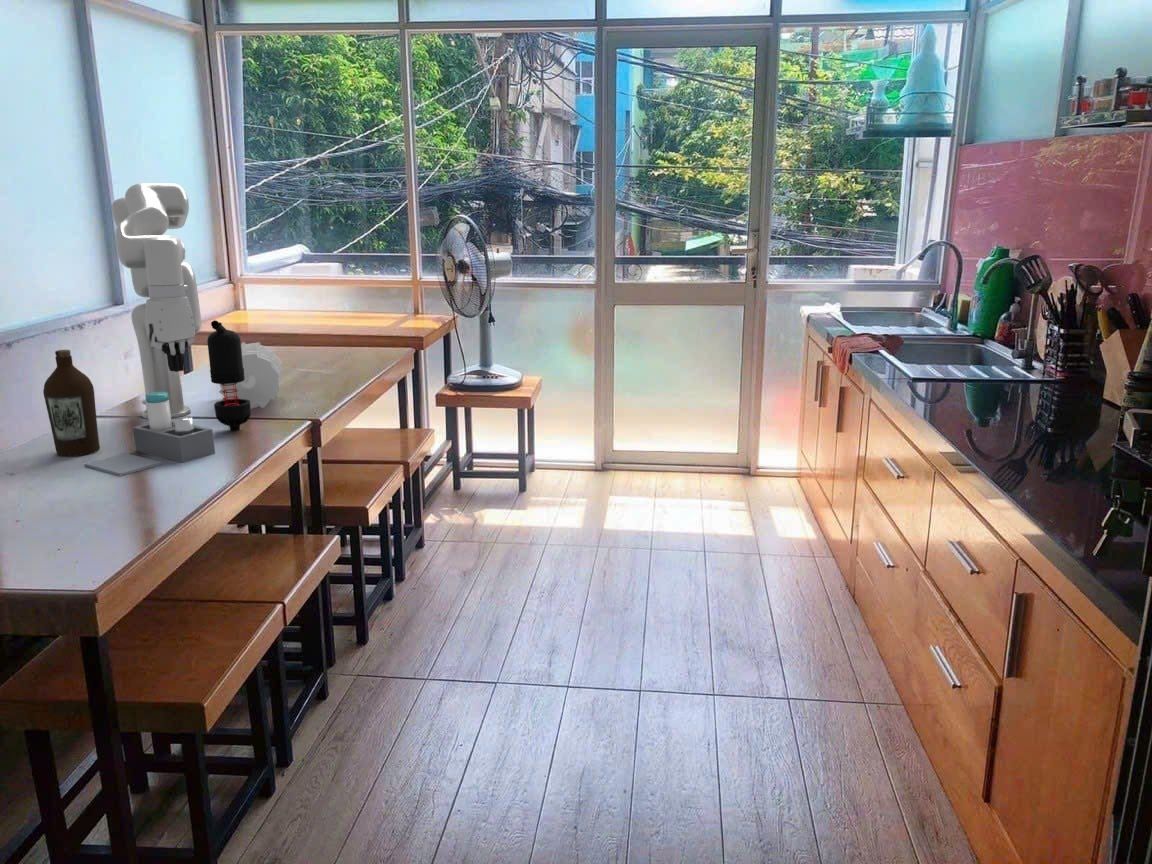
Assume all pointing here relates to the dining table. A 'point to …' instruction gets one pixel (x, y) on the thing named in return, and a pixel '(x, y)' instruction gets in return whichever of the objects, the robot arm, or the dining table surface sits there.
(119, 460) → the mat
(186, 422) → the silver metallic cylinder
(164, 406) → the cylinder
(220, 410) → the filter
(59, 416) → the olive oil
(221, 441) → the dining table surface
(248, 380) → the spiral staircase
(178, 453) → the housing
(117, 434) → the dining table surface
